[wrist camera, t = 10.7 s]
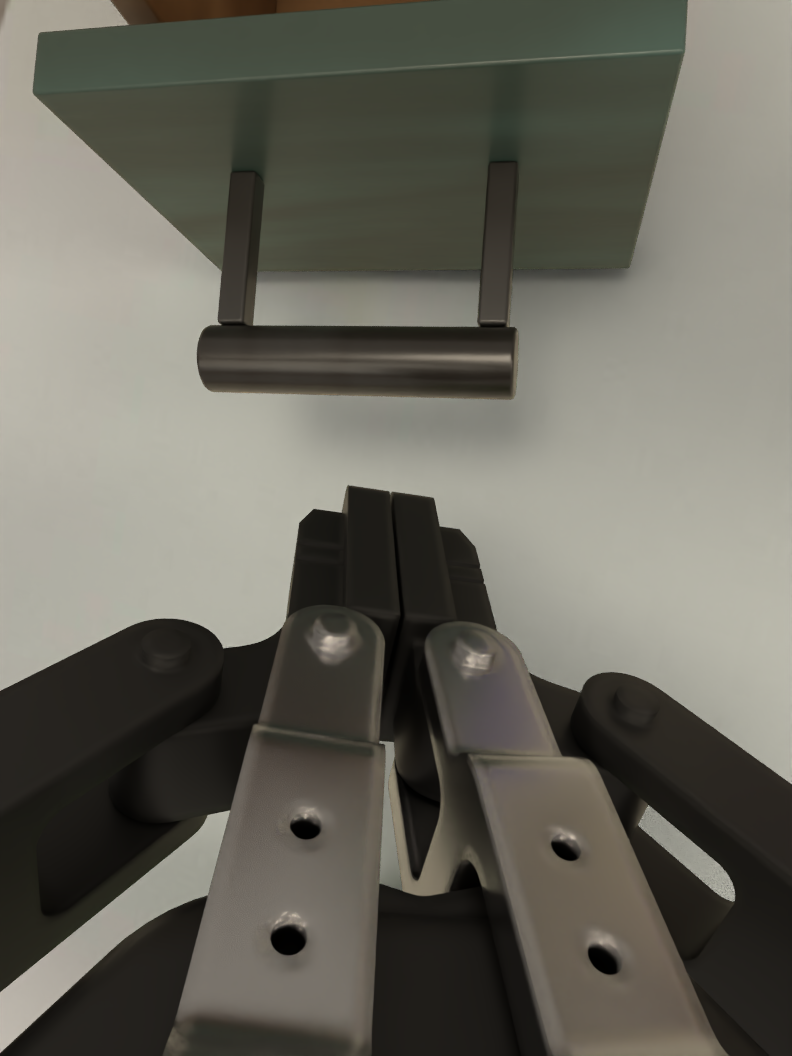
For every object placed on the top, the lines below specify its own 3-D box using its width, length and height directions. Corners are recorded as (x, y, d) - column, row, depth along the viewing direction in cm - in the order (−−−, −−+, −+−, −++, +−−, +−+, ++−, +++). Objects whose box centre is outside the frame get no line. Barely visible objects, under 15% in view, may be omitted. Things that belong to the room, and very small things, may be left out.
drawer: (619, 448, 19) (669, 353, 11) (208, 432, 22) (5, 345, 14) (657, -220, 20) (728, -747, 12) (260, -167, 23) (99, -582, 15)
